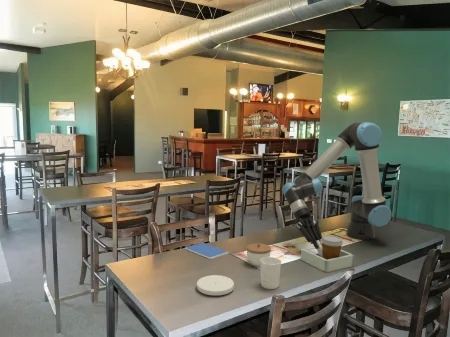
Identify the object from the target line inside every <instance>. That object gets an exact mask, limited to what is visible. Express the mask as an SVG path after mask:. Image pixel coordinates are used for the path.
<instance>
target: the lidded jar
mask: <svg viewBox="0 0 450 337" xmlns="http://www.w3.org/2000/svg"><path fill="white" fill-rule="evenodd" d="M271 248H272V247H271V246H270V245H268V244H266V243H265V244H264V243H258V242H256V243H250V244H248V245H246V257H247V259H248V262H249V263H250V264H251V266H253V265H254V266H253V267H258V266H260V260H261V259H262V258H264V257H271V252H272V251H271V250H272V249H271Z"/></svg>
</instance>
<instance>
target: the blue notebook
mask: <svg viewBox="0 0 450 337" xmlns="http://www.w3.org/2000/svg"><path fill="white" fill-rule="evenodd" d="M184 250H186V251H188V252H191V253H193V254H196V255H199V256H201V257H204V258H206V259H208V260H212V259H216V258H219V257H222V256H225V255H228V254H229V251H227V250H224V249H223V248H222V249H221V248H219V247H217V246H216V247H215V246H213V245H211V244H207V243H205V242H200V243H196V244H191V245H190V246H185V247H184Z"/></svg>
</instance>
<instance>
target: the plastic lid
mask: <svg viewBox="0 0 450 337" xmlns="http://www.w3.org/2000/svg"><path fill="white" fill-rule="evenodd" d="M196 289H197V291H198V292H200V293H201V294H203V295H208V296H216V297H217V296H223V295H224V296H225V295H227V294H230V293H231V292H232V291H234V289H235V282H234V280H233V279H231V278H229V277H228V276H225V275H218V274H212V275H205V276H203V277H200V278H199V279H198V280H197V282H196Z"/></svg>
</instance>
